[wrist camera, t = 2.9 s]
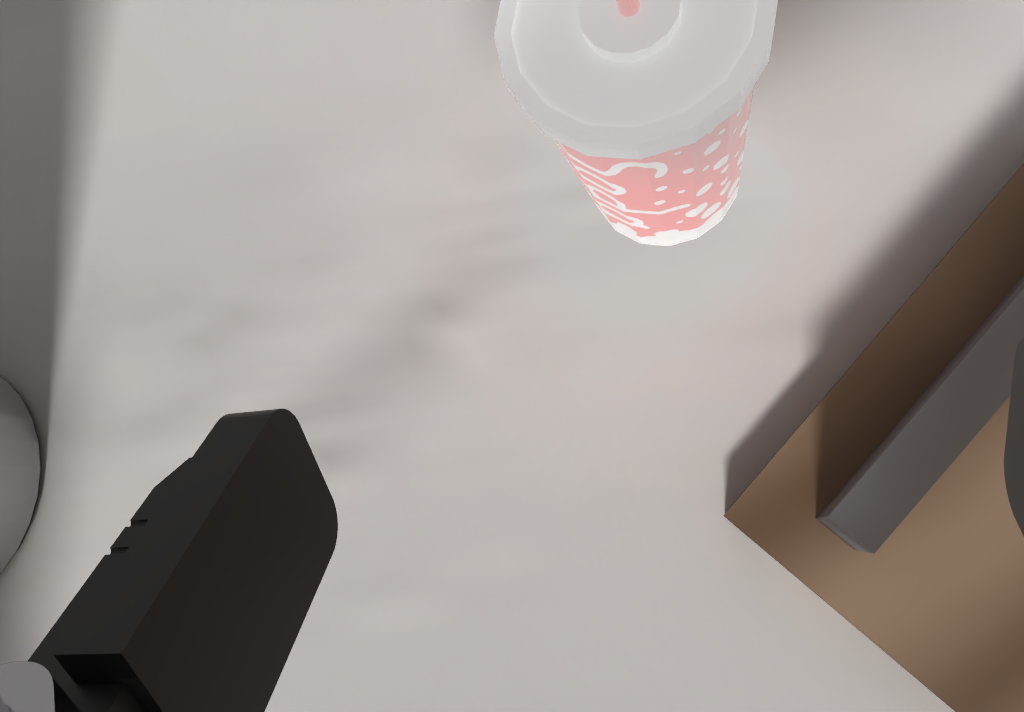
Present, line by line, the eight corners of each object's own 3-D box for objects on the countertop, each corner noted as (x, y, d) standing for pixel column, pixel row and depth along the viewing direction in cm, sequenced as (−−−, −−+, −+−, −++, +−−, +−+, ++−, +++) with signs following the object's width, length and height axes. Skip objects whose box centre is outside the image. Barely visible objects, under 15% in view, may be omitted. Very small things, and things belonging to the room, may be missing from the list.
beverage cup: (532, 191, 28) (341, -115, 14) (659, 52, 28) (583, -389, 14) (672, 309, 26) (599, 79, 13) (810, 160, 26) (884, -235, 12)
